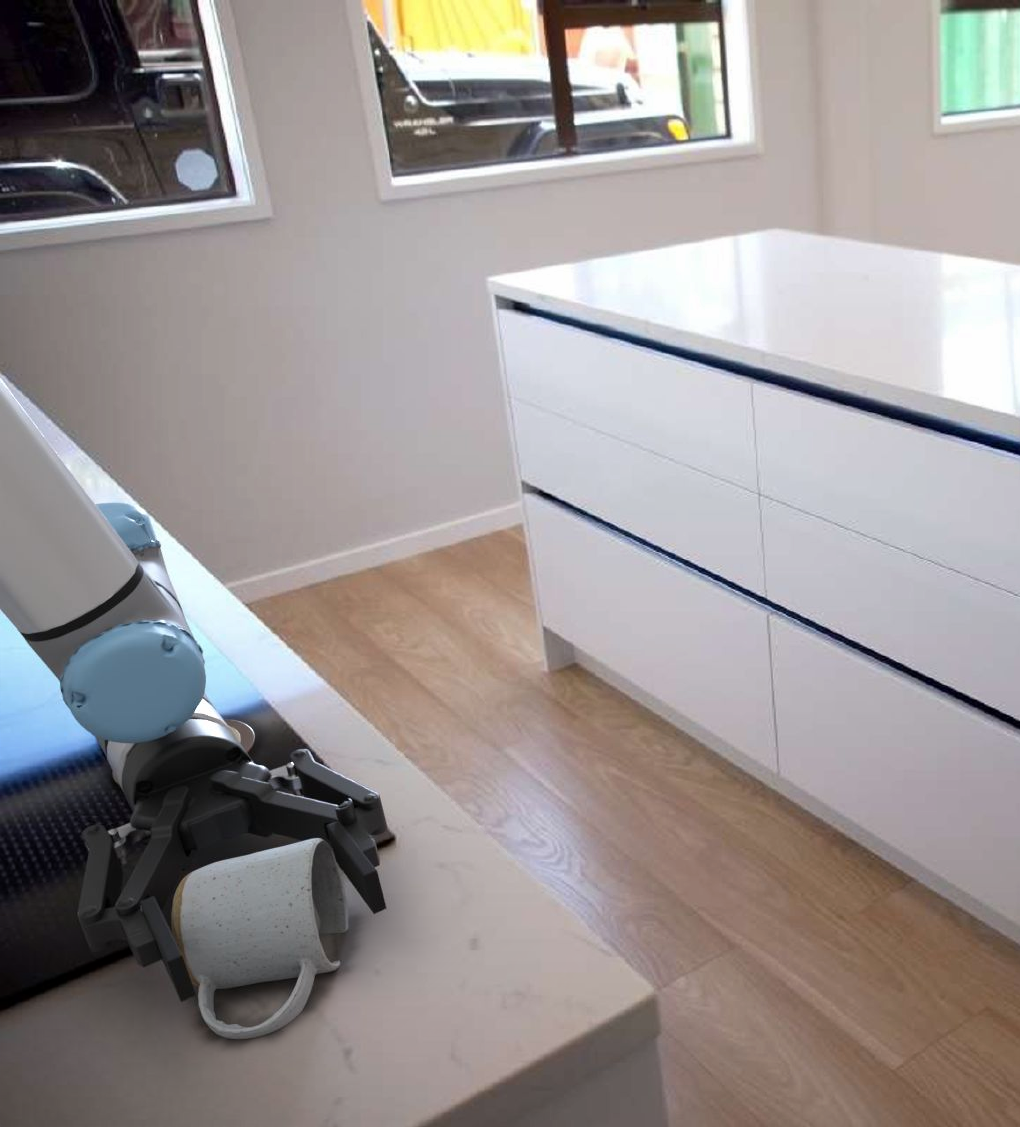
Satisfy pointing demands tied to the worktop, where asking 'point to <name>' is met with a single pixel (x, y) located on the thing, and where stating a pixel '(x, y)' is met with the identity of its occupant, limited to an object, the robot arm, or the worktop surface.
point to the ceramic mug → (260, 925)
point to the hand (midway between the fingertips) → (282, 934)
